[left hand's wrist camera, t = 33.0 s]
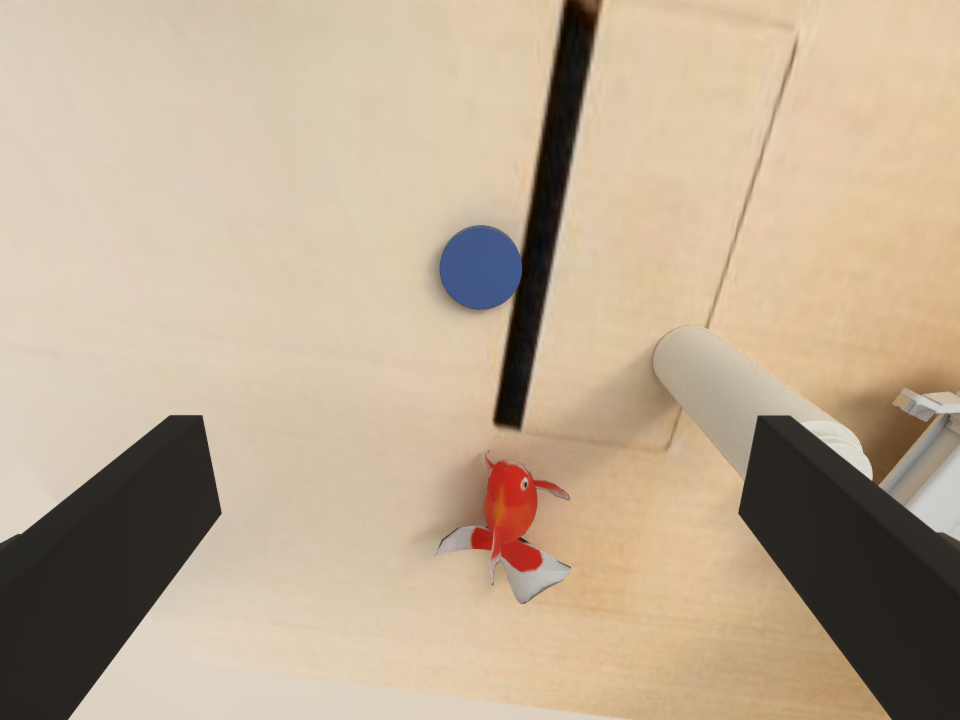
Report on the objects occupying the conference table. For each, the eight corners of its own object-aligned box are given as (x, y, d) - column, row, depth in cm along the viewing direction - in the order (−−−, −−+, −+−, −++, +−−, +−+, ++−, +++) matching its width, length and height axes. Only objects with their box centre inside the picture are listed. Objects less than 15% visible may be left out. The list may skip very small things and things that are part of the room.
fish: (626, 470, 41) (589, 583, 34) (564, 556, 52) (527, 654, 45) (503, 407, 43) (444, 502, 36) (468, 503, 54) (418, 590, 47)
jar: (638, 362, 43) (742, 492, 26) (688, 311, 42) (834, 412, 24) (685, 402, 44) (815, 551, 27) (736, 353, 43) (907, 477, 26)
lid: (498, 316, 42) (499, 322, 40) (428, 283, 41) (426, 288, 39) (534, 247, 40) (536, 250, 38) (461, 211, 39) (461, 212, 38)
